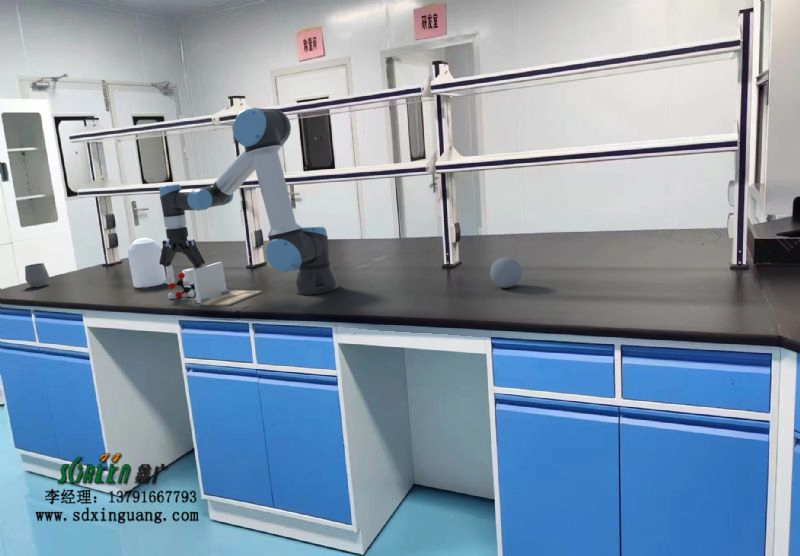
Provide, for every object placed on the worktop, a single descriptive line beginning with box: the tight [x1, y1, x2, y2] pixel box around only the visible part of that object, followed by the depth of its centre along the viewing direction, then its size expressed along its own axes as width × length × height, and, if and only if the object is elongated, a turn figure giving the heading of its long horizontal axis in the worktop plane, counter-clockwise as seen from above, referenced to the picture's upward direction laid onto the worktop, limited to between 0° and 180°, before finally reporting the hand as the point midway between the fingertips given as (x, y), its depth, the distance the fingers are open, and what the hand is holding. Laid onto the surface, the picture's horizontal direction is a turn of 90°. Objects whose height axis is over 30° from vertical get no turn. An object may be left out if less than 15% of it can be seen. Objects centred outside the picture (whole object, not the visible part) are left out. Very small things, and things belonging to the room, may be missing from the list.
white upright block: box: [181, 267, 194, 291], centre depth 243 cm, size 6×6×8 cm
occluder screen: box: [192, 261, 231, 304], centre depth 225 cm, size 5×14×12 cm, turn 154°
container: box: [127, 237, 167, 289], centre depth 262 cm, size 14×13×20 cm
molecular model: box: [164, 272, 196, 299], centre depth 231 cm, size 16×8×10 cm, turn 144°
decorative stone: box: [489, 256, 522, 289], centre depth 200 cm, size 10×10×10 cm
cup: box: [24, 262, 50, 288], centre depth 281 cm, size 10×9×10 cm
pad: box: [199, 289, 263, 307], centre depth 222 cm, size 13×18×1 cm
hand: (185, 283), depth 230 cm, fingers open, 13 cm apart
